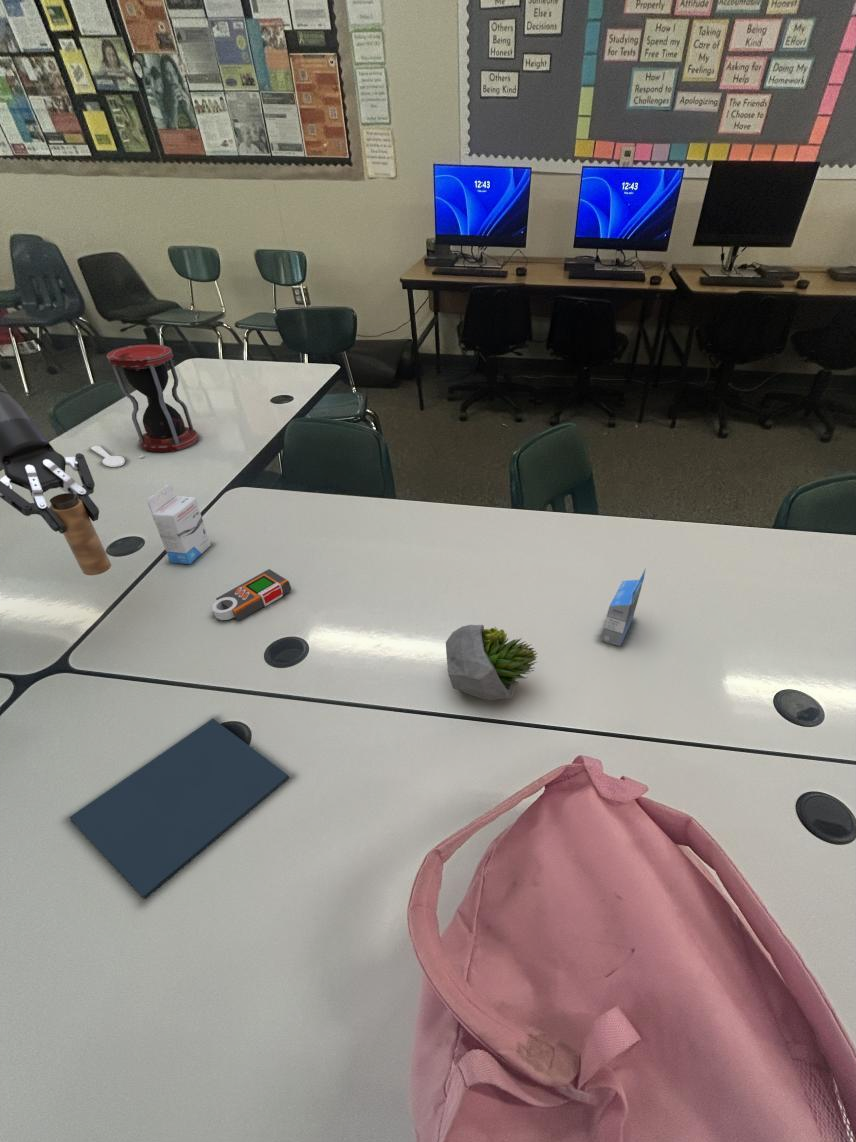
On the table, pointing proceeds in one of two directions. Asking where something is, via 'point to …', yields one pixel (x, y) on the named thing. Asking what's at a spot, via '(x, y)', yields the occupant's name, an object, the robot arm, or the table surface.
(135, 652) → the table surface
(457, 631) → the potted plant
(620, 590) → the label tape box
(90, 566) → the pepper mill
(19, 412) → the robot arm
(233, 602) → the electronic device
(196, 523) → the ink box
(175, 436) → the hourglass
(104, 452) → the spoon
